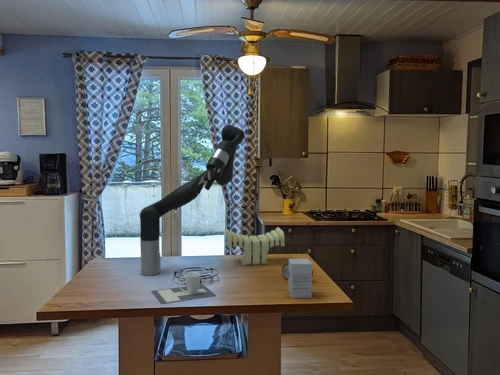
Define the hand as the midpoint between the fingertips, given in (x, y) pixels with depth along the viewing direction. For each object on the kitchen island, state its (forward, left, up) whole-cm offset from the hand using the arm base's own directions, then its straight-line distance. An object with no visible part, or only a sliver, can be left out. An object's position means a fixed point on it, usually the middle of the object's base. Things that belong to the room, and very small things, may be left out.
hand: (201, 191), depth 198 cm
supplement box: (-14, +40, -45) cm, 62 cm away
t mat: (+4, -7, -45) cm, 45 cm away
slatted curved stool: (-57, +2, -45) cm, 73 cm away
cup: (+2, -5, -45) cm, 45 cm away
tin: (-34, +33, -45) cm, 65 cm away
